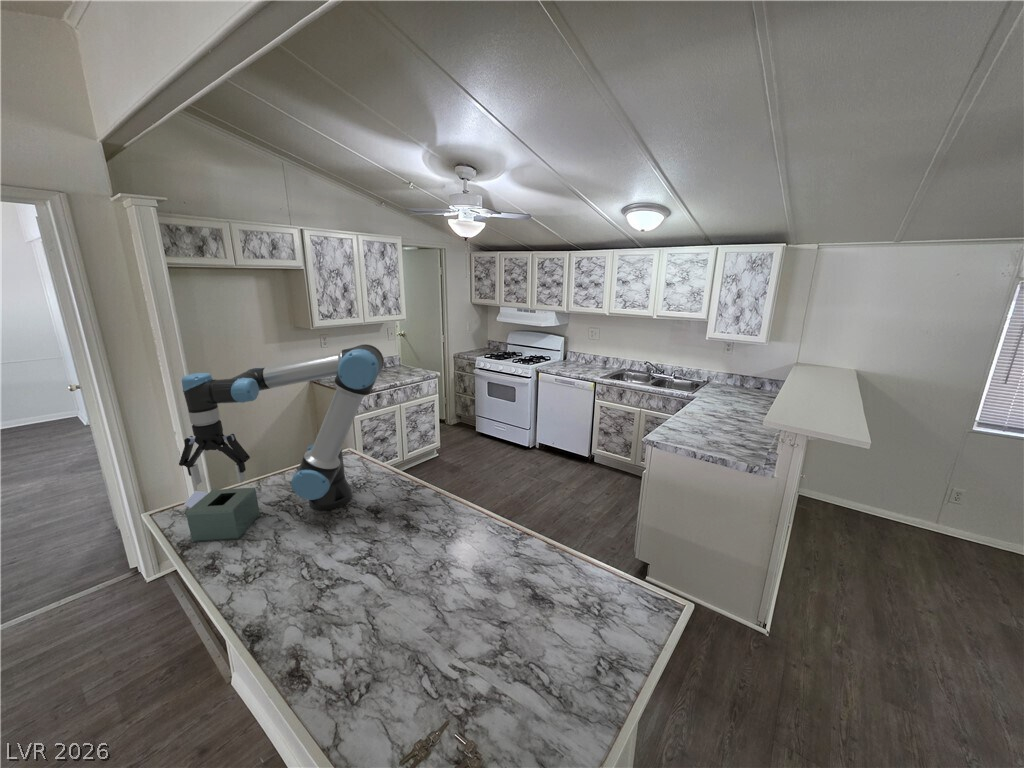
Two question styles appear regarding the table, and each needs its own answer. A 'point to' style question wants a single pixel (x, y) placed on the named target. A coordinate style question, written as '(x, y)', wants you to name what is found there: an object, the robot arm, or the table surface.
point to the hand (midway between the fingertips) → (220, 482)
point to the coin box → (223, 515)
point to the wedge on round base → (195, 498)
